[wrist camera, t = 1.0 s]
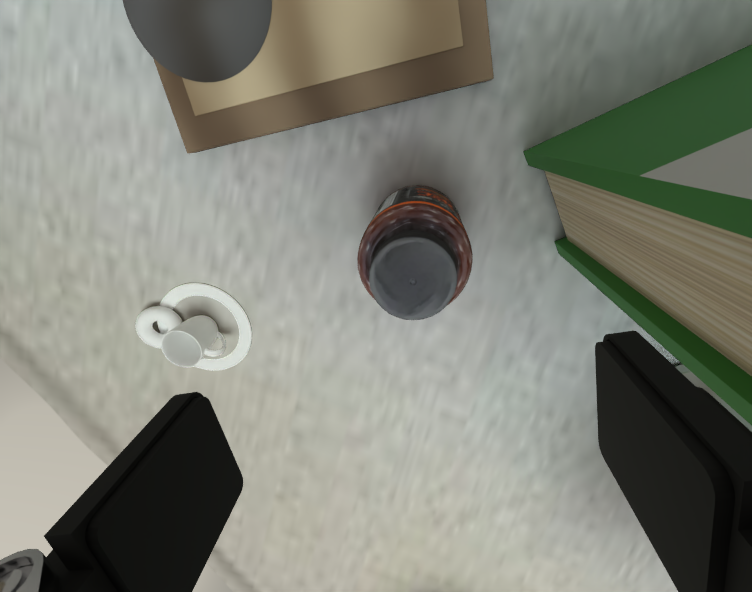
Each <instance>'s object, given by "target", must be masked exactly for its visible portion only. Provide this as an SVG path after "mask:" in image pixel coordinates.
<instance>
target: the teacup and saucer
mask: <svg viewBox="0 0 752 592" xmlns="http://www.w3.org/2000/svg"><path fill="white" fill-rule="evenodd" d="M190 296H206V297H210V298H212V299H215V300H217V301H219V302H220V303H222V304H223V305H224V306H226V307H227V308H228V309H229V310H230V312H231V313H232V314H233V316H234V317H235V319H236V321H237V324H238V327H239V341H238V344H237V346H236V348H235V349H234V351H233V352H232V353H230V354H229V355H227V356H226V357H223V358H220V359H204V358H203V357H204V356H205V355H207V356H210V357H216V356H220V355H222V354H223V353H224V351H225V348H226V341H225V338H224V337H223V335H222V334H221V333H220V332H219V331H218V327H217V324H216V322H215V321H214V320H213V319H212V318H210V317H208V316H204V315H198V316H194V317H191V318H189V319H187V320H185V321H184V322H183V321H182V319H181V318H180V316H179V315H178V314H177V313H176V312H174V311H173V309H174V307H175V306H176V304H177V303H178V302H180V301H181V300H183V299H184V298H187V297H190ZM155 321H157V322H158V328H159V331H160V333H158V332H156V331H155V330H154V329H153V327H152V326H153V323H154V322H155ZM135 328H136V332H137V334H138V336H139V337H140V339H141V340H142V341H143V342H145V343H146V344H148V345H150V346H152V347H155V348H162V352H163V354H164V355H165V357H166V358H167V359H168V360H169V361H170V362H171V363H173V364H175V365H177V366H180V367H185V368H188V367H193V366H194V367H197V368H200V369H204V370H212V371H217V370H224V369H228V368H231V367H233V366H235V365H236V364H238V363H239V362H241V361H242V360H243V359H244V357H245V356H246V355H247V353H248V351H249V349H250V346H251V342H252V330H251V325H250V322H249V319H248V317H247V315H246V313H245V311H244V310H243V308H242V307H241V306H240V304H239V303H238V302H237V301H236V300H235V299H234V298H233V297H231V296H230V295H229V294H227V293H226V292H224V291H223V290H221V289H219V288H216V287H214V286H211V285H208V284H203V283H187V284H183V285H180V286H177V287H175V288H173V289H172V290H170V291H169V292H168V293H167V294H166V295H165V296H164V298H163V299H162V301H161V303H160V305H159V306H154V307H149V308H147V309H145V310H143V311H142V312H141V313H140V314H139V315H138V317H137V319H136V323H135ZM217 337H218V338H220V340H221V341H222V343H223V347H222V348H221V349H219V350H210V348H211V347H212V345H213V343H214V342H215V340H216V338H217Z"/></svg>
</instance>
